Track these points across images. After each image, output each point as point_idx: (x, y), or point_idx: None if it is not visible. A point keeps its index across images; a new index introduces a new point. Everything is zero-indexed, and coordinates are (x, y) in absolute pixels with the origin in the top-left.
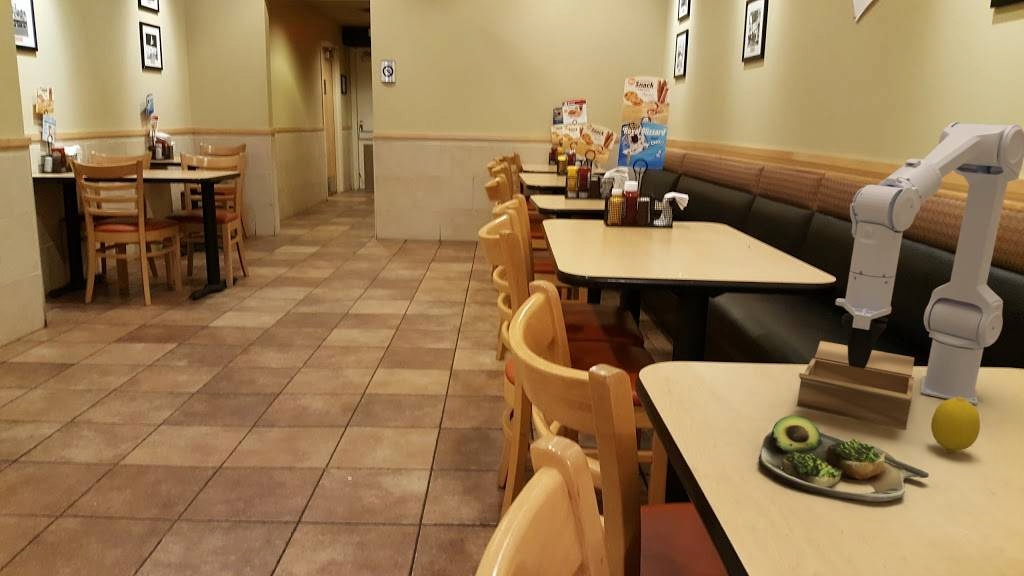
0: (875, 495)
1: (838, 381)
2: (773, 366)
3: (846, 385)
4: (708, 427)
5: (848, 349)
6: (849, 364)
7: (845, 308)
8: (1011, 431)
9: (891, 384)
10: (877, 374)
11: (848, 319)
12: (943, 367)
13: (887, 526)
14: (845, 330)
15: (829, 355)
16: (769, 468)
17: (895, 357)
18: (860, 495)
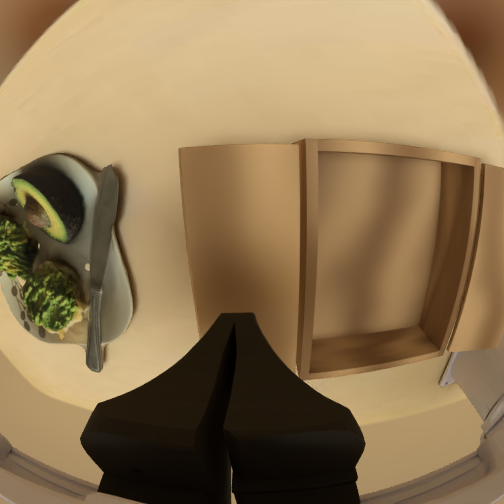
0: (15, 316)
1: (192, 269)
2: (480, 90)
3: (192, 289)
4: (69, 59)
5: (197, 343)
6: (217, 317)
7: (75, 501)
8: (364, 422)
9: (436, 315)
10: (451, 297)
11: (92, 452)
12: (480, 375)
13: (7, 320)
14: (129, 392)
15: (497, 197)
16: None
17: (499, 321)
18: (8, 302)
